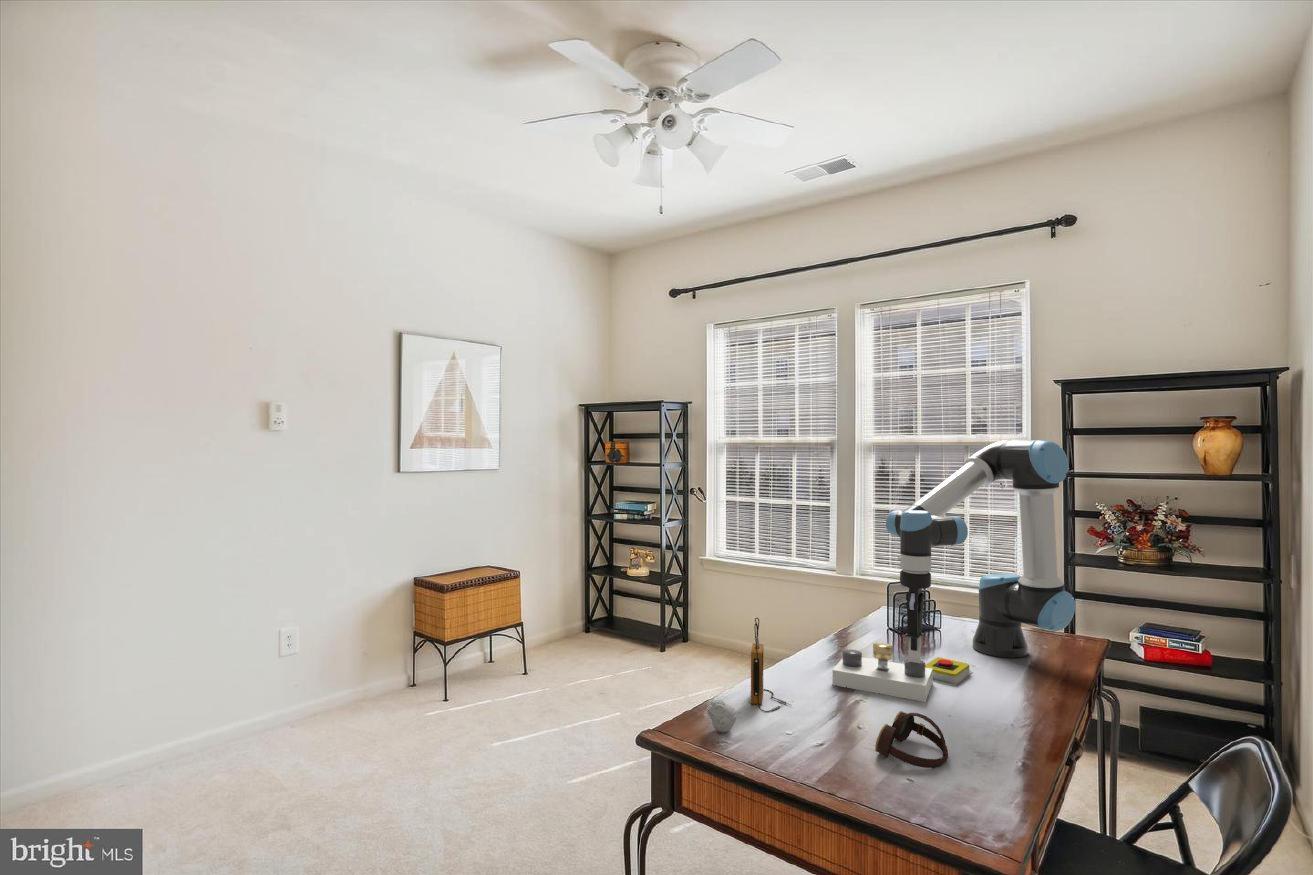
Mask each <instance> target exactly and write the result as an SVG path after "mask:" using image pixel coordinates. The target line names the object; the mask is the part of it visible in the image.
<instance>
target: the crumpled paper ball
mask: <svg viewBox="0 0 1313 875" xmlns="http://www.w3.org/2000/svg"><path fill="white" fill-rule="evenodd" d="M706 710H707V711H706V714H707V715H708V717H709V719H710V720H711V724H712V726H713V728H714V729H715V730H716V731H717V732H720V733H728V732H729V731H730V730H732V729H733V726H734V724H735V723H736V720H737V714H736V712H737V709H735V707H734V706H732V705H730V704H728V703H727V702H724V701H723V700H722V699H711V702H710V704H709V705H708V706H707V707H706Z"/></svg>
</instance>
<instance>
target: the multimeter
mask: <svg viewBox="0 0 1313 875" xmlns="http://www.w3.org/2000/svg"><path fill="white" fill-rule="evenodd" d="M754 622H755V623H754V640H755V643H752V646H751V650H750V704H751V705H757V706H758V708H759V711H762V712H764V713H769V712H772V711H776V710H777V709H780V708H781V707H783V706H784V705H789V706H792V704H791V703H788V702H787V701H785V700H782V699H780V698H776V697H773V696H774V692H773V691H771V690H769V689H765V688H764V643H760V642H759V641H760V640H759V629H760V619H759V617H755V618H754ZM763 689H764V690H763ZM766 690H767V692H769V691H770V693H771V695H770V697H771V699H774V700H776V701H778V702H779V703H783V704H781V705H777V706H775V707H773V708H771V709H770V710H764V709H762V708H761V707H760V705H763V697H764V691H766Z"/></svg>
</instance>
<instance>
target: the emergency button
mask: <svg viewBox="0 0 1313 875" xmlns="http://www.w3.org/2000/svg"><path fill="white" fill-rule="evenodd" d="M925 668H932V669H933V682H935V683H939V684H943V685H946V686H952V687H954V686H957V685H958V684H959V683H961V682H962V681H963V680H965V679H966V678H968V677H969V676H970V675H971V674H973V671H972V670H970V664H969V663H967V662H963V661H958V660H954V659H950V658H945V657H939V656H937V657H935V658H934V659H932V660H931V661H929V662H927V663H925Z"/></svg>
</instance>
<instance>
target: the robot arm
mask: <svg viewBox="0 0 1313 875" xmlns="http://www.w3.org/2000/svg"><path fill="white" fill-rule="evenodd" d="M1068 473H1069V460H1068V456H1067V455H1066V452H1065V450H1064V449H1063V448H1062V447H1061V446H1060V445H1059V444H1058V443H1056V442H1053V441H1049V440H1048V441H1047V440H1041V439H1035V440H1033V439H1032V440H1030V439H1029V440H1025V439H1023V440H1022V439H1021V440H1018V439H1017V440H1016V439H1015V440H1012V439H1004V440H999V441H996V442H993V443H990V444H989V445H987V446H985V447H982V448H981V449H980V450H978V451H976V452H975V453H973V454H972V455H970V456H969V457H968V458H966V459H965V460H964V462H963V466H961V467H960V468H959V469H958V470H956V471H954V473H952V474H951V475H949V476H947V478H946V479H944V480H943V481H941V483H939V484H938V485H936V486H935V487H934V488H933V489H931V490H929V491H928V492H927V493H925V495H923V496H922V497H920V498H919V499H918V500H916V501H915V502H914V503H913V504H912V505H910V506H908V507H907V508H906V509H904V510H902V509H898V510H897V509H896V510H892V511H891V512H889V513H888V515H887V516H886V519H885V527H886V530H887V532H888V533H889V534H890V536H891V535H892V536H894V537H897V538H900V539H899V540H900V544H899V545H900V546H899V547H900V550H899V551H900V552H899V553H900V555H899V556H898V557H897V559H898V561H900V565H899V567H900V568H899V569H901V570H900V571H899V584H900V586H901V587H904V588H908V591H907V592H906V593H905V594H906V595H905V599H906V603H905V606H906V618H907V619H906V622H907V623H906V624H907V626H906V627H907V632H906V633H905V637H906V638H908V659H909V662H914V663H920V660H921V649H922V648H921V645H922V644H921V641H922V640H921V639H922V638H921V637H924V635H925V634H924V633H923V632H922V631H923V608H924V599H925V593H924V592H923V589H929V588H930V587H931V586H932V573H931V572H930V571H932V548H933V547H944V546H951V547H952V546H955V545H960V544H963V543H965V541H966V540H967V538H968V535H969V534H968V533H969V532H968V530H969V528H968V525H967V523H966V522H965V520H963V519H962V518H961V517H959V516H951V515H947V516H945V515H946V514H948V512H950V511H951V510H953V509H954V508H955V507H956V506H957V505H958V504H960V503H961V502H963V501H964V500H965V499H967V498H968V497H969V496H970V495H972V494H973V493H974V492H975V491H977V490H978V489H979V488H981V486H988V485H990V484H992V483H993V482H994V481H999V480H1012V489H1014V491H1016V492H1017V493H1018V495H1019V496H1018V497H1019V511H1020V512H1019V514H1020V531H1021V532H1020V533H1021V534H1020V535H1021V549H1022V551H1021V552H1022V568H1023V569H1022V571H1023V572H1022V573H1023V575H1022V576H1021V575H1018V574H1011V573H1007V574H1005V573H998V574H987V575H982V576H981V577H980V578H979V587H978V625H977V627H976V629H975V632H974V636H973V638H972V648H973V649H974V650H976V651H977V652H978V653H981V654H985V655H988V656H991V657H992V656H993V657H1000V658H1007V659H1009V658H1010V659H1011V658H1012V659H1015V658H1016V659H1017V658H1024V657H1027V655H1028V654H1029V647H1028V643H1027V640H1026V637H1025V635H1024V632H1023V628H1022V624H1025V625H1029V626H1032V627H1035V628H1039V629H1040V630H1047V631H1052V632H1060V631H1062V630H1064V629H1065V628H1066V627H1067V626H1068V625H1070V622H1072V620H1073V619H1074V618H1073V617H1074V615H1075V611H1076V600H1075V598H1074V597H1073V595H1072V594H1071V593H1070V592H1068V591H1066V590H1065V581H1064V580H1063V579H1061V578H1060V576H1058V575H1059V574H1058V560H1057V559H1058V557H1057V541H1056V540H1057V537H1056V535H1057V533H1056V518H1055V517H1056V516H1055V515H1056V514H1055V499H1054V496H1055V495H1054V493H1055V492H1056V491H1057V490H1058V489H1060V483H1061V482H1063V481H1064V480H1065V479H1066V478H1067V474H1068Z"/></svg>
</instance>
